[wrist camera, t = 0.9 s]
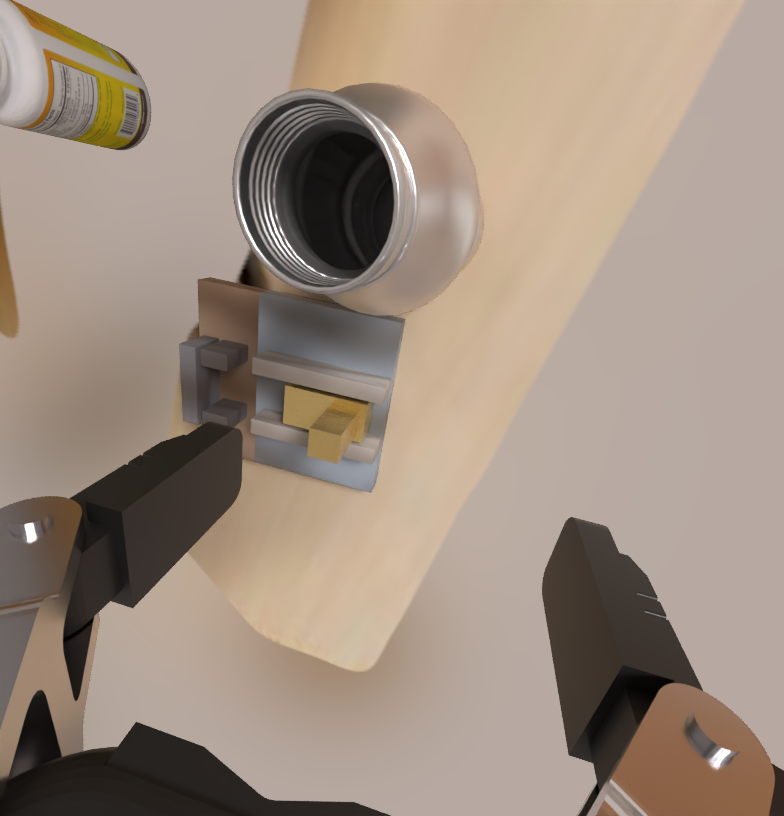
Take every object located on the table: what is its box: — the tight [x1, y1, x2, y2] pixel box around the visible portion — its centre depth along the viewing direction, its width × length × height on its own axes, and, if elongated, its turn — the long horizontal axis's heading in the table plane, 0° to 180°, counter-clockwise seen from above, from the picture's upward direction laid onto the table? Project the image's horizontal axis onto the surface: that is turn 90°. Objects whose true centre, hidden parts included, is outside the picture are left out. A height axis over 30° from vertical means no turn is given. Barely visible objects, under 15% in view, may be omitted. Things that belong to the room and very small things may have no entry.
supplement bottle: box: [0, 0, 151, 150], centre depth 23 cm, size 6×6×10 cm
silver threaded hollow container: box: [232, 83, 484, 316], centre depth 17 cm, size 6×7×20 cm
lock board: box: [179, 278, 405, 493], centre depth 31 cm, size 14×15×4 cm
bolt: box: [283, 382, 373, 464], centre depth 28 cm, size 3×6×6 cm, turn 80°
